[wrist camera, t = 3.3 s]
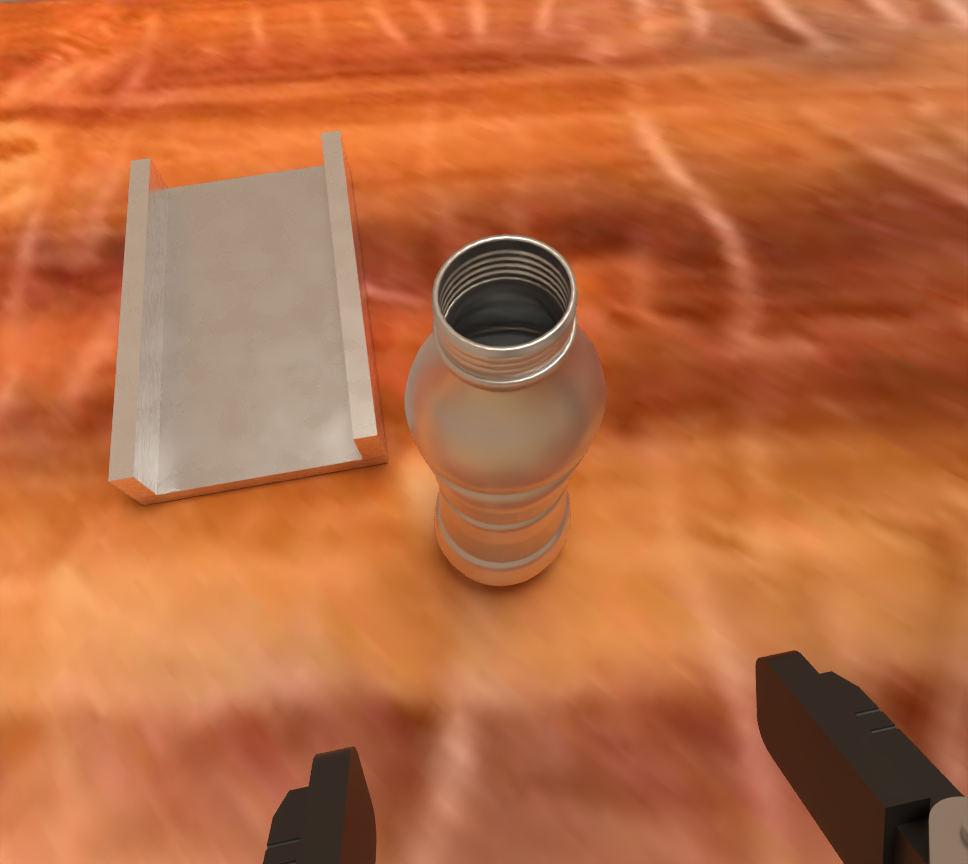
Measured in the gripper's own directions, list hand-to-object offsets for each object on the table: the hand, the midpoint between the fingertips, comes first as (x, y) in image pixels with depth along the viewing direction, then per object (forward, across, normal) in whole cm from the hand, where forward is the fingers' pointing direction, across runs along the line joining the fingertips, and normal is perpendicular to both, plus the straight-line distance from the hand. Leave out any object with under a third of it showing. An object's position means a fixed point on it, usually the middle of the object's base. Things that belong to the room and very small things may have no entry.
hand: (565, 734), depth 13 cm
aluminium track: (+32, -11, +5) cm, 34 cm away
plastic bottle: (+21, +1, -6) cm, 22 cm away
